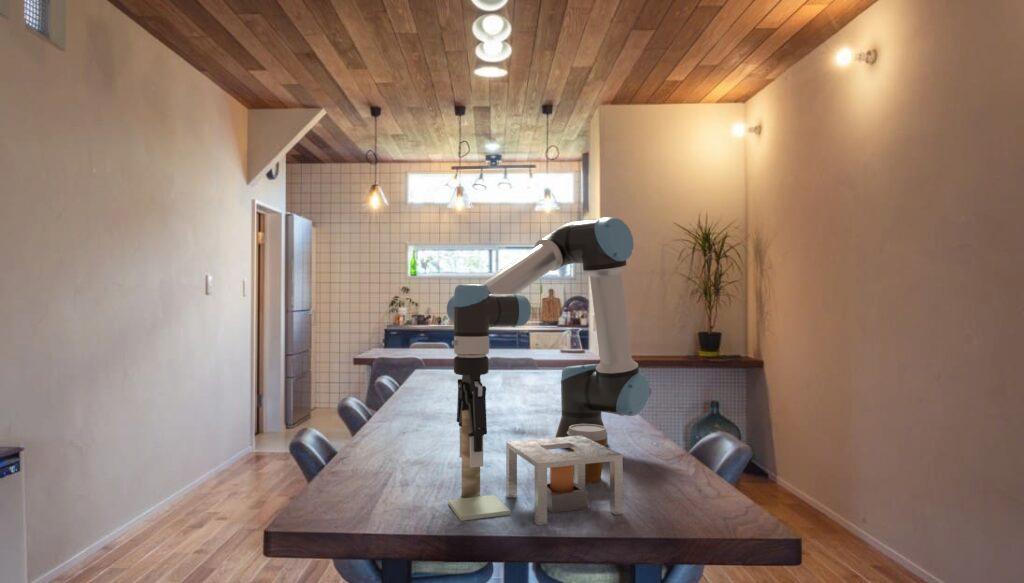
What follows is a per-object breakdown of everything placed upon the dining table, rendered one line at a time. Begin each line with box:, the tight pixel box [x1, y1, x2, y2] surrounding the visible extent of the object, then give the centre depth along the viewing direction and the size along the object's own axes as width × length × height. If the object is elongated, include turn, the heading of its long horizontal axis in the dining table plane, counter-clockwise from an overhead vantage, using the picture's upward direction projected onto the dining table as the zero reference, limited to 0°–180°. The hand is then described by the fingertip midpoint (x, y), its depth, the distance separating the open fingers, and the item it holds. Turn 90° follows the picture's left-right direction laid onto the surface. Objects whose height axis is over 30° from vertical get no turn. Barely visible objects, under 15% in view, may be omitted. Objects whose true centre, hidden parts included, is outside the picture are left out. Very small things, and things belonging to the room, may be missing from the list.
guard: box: [505, 435, 624, 526], centre depth 123 cm, size 18×18×12 cm
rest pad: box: [447, 494, 511, 522], centre depth 120 cm, size 10×10×1 cm
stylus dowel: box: [461, 410, 481, 498], centre depth 129 cm, size 4×4×18 cm
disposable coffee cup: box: [567, 424, 609, 484], centre depth 140 cm, size 10×10×12 cm
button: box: [549, 465, 574, 493], centre depth 123 cm, size 5×5×6 cm
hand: (471, 461), depth 129 cm, fingers open, 8 cm apart
